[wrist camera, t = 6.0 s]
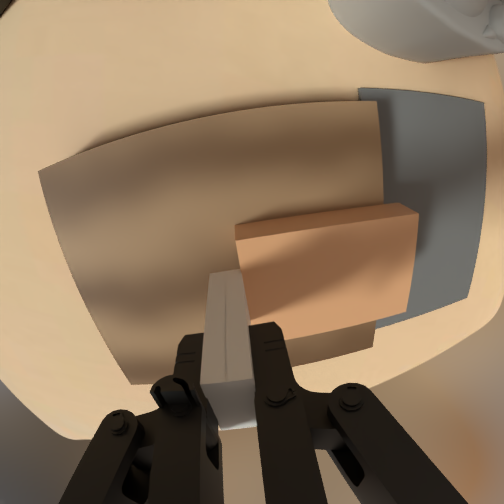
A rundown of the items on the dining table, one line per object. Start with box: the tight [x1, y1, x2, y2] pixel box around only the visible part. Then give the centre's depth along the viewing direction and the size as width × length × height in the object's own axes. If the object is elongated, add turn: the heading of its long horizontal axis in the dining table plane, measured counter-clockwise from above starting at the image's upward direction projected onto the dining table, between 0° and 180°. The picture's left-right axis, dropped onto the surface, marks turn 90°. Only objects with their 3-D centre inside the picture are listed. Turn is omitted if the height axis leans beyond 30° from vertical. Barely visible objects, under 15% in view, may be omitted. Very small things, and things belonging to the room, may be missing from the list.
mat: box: [358, 88, 487, 329], centre depth 18 cm, size 18×12×1 cm, turn 9°
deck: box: [38, 101, 384, 385], centre depth 16 cm, size 16×18×3 cm
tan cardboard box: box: [234, 203, 419, 340], centre depth 14 cm, size 6×9×2 cm, turn 98°
